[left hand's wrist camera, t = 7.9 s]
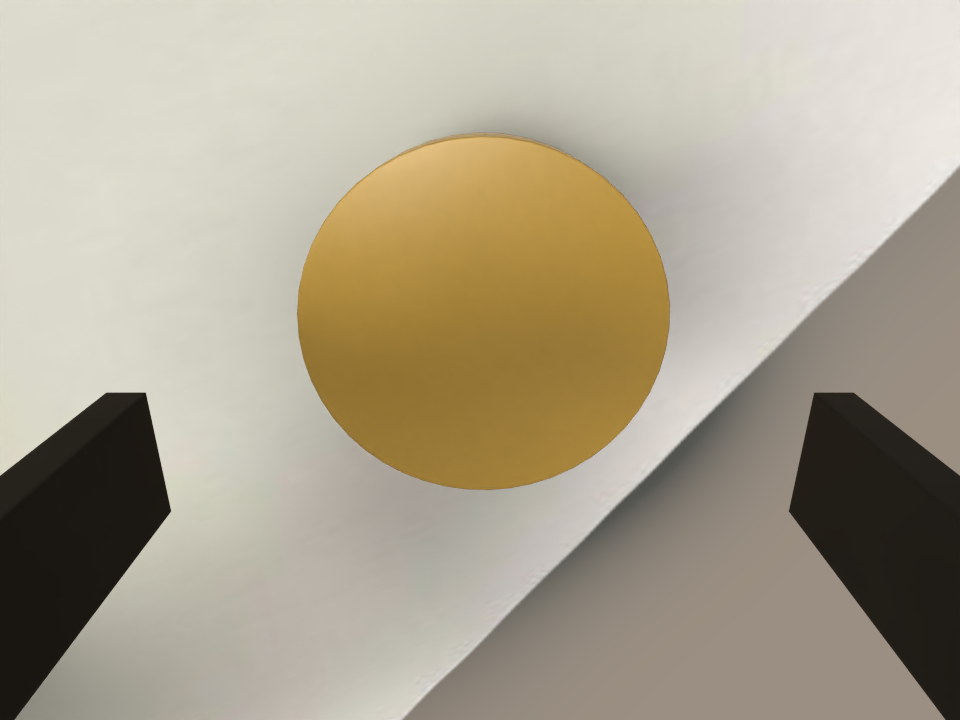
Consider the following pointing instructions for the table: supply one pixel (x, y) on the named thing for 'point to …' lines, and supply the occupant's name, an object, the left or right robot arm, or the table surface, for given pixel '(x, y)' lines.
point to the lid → (483, 312)
